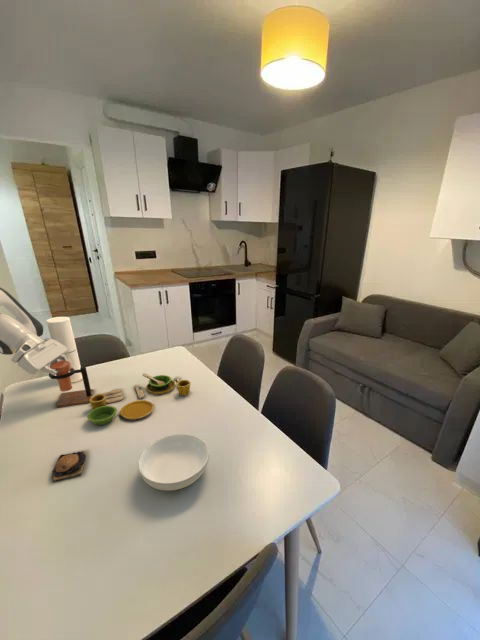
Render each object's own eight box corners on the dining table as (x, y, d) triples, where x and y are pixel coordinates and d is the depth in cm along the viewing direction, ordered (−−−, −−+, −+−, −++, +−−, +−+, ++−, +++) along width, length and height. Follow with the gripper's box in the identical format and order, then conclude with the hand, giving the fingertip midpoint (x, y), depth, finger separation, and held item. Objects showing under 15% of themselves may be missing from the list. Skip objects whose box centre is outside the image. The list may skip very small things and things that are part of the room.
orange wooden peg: (54, 394, 118) (47, 369, 113) (58, 385, 124) (52, 361, 119) (74, 391, 120) (68, 367, 116) (77, 383, 126) (71, 359, 122)
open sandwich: (83, 475, 88) (80, 466, 87) (50, 482, 85) (47, 473, 84) (88, 451, 97) (86, 443, 96) (58, 457, 94) (55, 448, 93)
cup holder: (54, 407, 119) (45, 376, 113) (59, 395, 127) (51, 365, 121) (90, 402, 123) (83, 372, 117) (93, 390, 132) (87, 362, 126)
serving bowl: (209, 446, 102) (209, 430, 100) (209, 496, 83) (209, 479, 81) (147, 451, 99) (145, 435, 96) (133, 505, 80) (130, 487, 77)
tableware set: (180, 376, 147) (180, 365, 144) (198, 405, 125) (198, 392, 122) (87, 396, 127) (84, 383, 125) (89, 433, 105) (86, 419, 103)
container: (59, 379, 140) (43, 319, 128) (77, 372, 146) (64, 315, 134) (67, 384, 135) (51, 323, 123) (86, 377, 142) (73, 319, 130)
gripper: (44, 341, 124) (72, 362, 129) (7, 362, 106) (42, 386, 110) (52, 332, 123) (80, 353, 127) (16, 351, 104) (51, 376, 108)
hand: (62, 368), depth 118 cm, fingers closed on orange wooden peg, 7 cm apart
